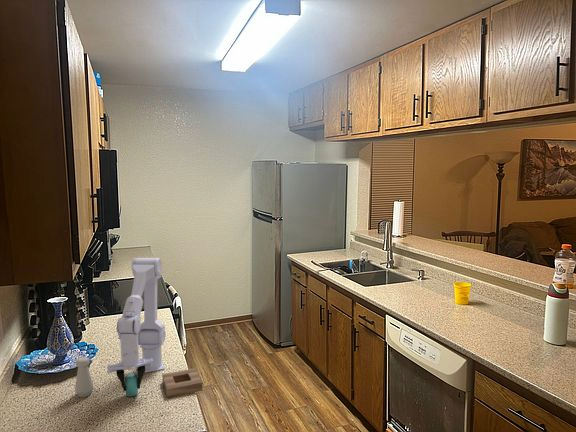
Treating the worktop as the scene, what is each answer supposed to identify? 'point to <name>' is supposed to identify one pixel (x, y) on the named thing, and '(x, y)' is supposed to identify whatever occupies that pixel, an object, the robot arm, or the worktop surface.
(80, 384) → the salt shaker
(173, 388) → the socket block
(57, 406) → the worktop surface
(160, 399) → the worktop surface
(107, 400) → the worktop surface
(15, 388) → the worktop surface
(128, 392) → the teal pin
